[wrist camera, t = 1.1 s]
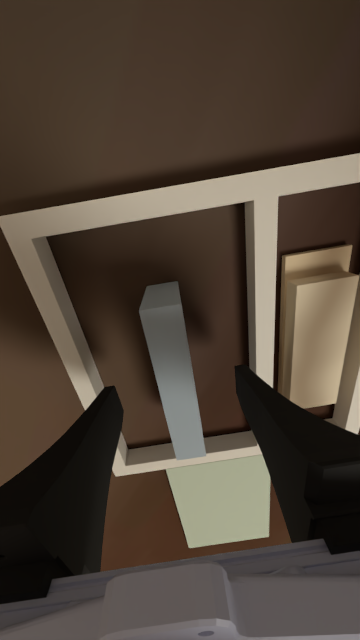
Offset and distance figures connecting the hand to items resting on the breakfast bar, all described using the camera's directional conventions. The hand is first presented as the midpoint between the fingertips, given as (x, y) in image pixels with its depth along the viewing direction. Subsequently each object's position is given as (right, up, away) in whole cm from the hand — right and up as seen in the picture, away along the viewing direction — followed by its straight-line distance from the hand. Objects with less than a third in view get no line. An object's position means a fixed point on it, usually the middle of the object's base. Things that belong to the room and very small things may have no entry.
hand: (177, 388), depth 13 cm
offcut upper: (+9, +2, +3) cm, 10 cm away
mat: (+5, -16, +12) cm, 20 cm away
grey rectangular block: (0, +2, +3) cm, 4 cm away
